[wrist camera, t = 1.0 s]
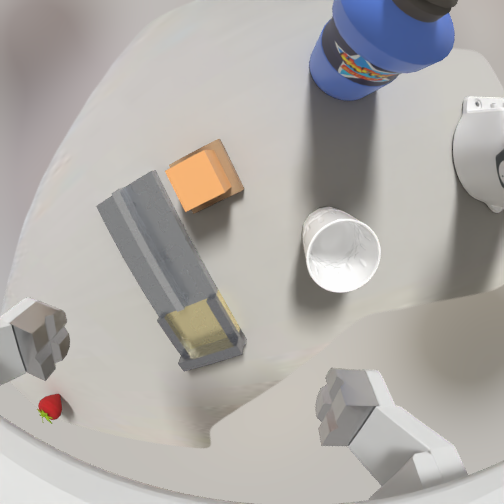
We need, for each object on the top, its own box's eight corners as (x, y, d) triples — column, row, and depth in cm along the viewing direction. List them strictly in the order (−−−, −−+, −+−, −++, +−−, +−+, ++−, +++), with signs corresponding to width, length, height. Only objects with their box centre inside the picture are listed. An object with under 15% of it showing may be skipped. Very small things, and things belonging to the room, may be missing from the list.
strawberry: (74, 401, 55) (56, 428, 45) (61, 405, 56) (44, 430, 47) (57, 383, 53) (37, 410, 44) (45, 389, 55) (27, 413, 45)
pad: (220, 139, 35) (215, 138, 32) (244, 188, 37) (241, 192, 34) (172, 164, 36) (163, 166, 33) (196, 211, 38) (189, 217, 35)
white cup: (301, 263, 40) (310, 298, 30) (293, 206, 37) (301, 225, 28) (357, 255, 39) (381, 286, 30) (352, 198, 36) (379, 214, 27)
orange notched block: (179, 168, 35) (164, 171, 30) (213, 150, 34) (204, 149, 29) (197, 203, 36) (185, 212, 31) (231, 186, 35) (224, 192, 30)
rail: (155, 170, 37) (141, 173, 32) (246, 339, 44) (244, 357, 40) (101, 204, 39) (85, 210, 34) (192, 356, 46) (186, 374, 42)
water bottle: (319, 28, 29) (373, -95, 6) (384, 55, 30) (498, -21, 6) (299, 85, 32) (347, -17, 9) (367, 113, 33) (497, 74, 9)
